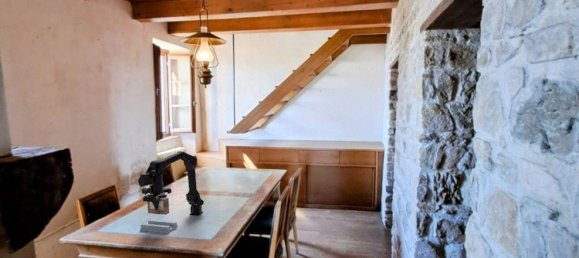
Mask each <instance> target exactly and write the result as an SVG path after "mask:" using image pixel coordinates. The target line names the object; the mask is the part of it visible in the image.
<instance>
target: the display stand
mask: <svg viewBox="0 0 579 258" xmlns="http://www.w3.org/2000/svg"><path fill="white" fill-rule="evenodd" d="M147 222H148V223H142V224H140V228H139V231H141V232H150V233H160V234H170V233H171V232H172V231H173V230H176V228H178V227H179V226H178V224H177V223H178V222H177V221H171V220H161V219H160V220H159V219H148V220H147Z"/></svg>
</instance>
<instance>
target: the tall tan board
mask: <svg viewBox="0 0 579 258" xmlns="http://www.w3.org/2000/svg"><path fill="white" fill-rule="evenodd" d="M158 199H160V201H159V206H158V210H155V207H154V205H153V203H152V202H146V203H147V214H155V215H165V216H167V215H169V214H170V200H169V197H166V198H163V197H158Z"/></svg>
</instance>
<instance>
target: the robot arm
mask: <svg viewBox="0 0 579 258" xmlns="http://www.w3.org/2000/svg"><path fill="white" fill-rule="evenodd" d="M180 160H181V161H183V165H184V167H185V168H186V173H187V183H188V184H187V185H188V192H187V193H185V196H186V197H185V200H186V201H187V203H188V205H190V206H189V207H190V209H189V211H190V213H189V216H200V215H201V214H203V212H204V211H203V208H202V206H203V205H204V202H205V201H204V200H203V199H202V198H201V194H200V192H199V191H198V187H197V185H198V184H197V178H196V177H197V175H196V167H197V165H198V158H197V156H196V155H192V154H189V153H187V152H185V151H182V150H181V151H177V152H175V153H173V154H171V155H168V156H167V157H164V158H161V159H156V160H155V159H154V160H152V161H150V163H149V166H148V168H147V169H146V171H145V173H142V174H141V173H140V174H139V177H138V179H137V183H138V185H139V187H140V188H141V194H142V195H144V196H143V197H142V202H146V203H147V202H152V203H153V205H154V207H155V210H158V206H159V201H160V199H158V197H163V198H168V195H170V194H171V193H172V192H173V191H172V188H170V187H164V186H165V183H164V182H163V175H165V174H166V172H165V171H164V170H165V169H166V168H167V167H168V166H169V165H171V164H173V163H175V162H178V161H180ZM148 186H149V187H148ZM147 187H148V188H147ZM166 193H167V194H168V195H167V194H166Z"/></svg>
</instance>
